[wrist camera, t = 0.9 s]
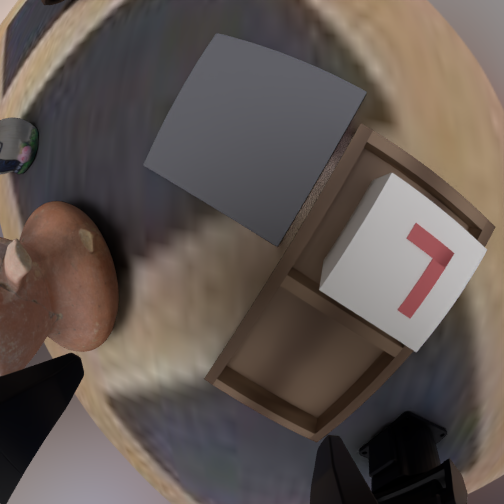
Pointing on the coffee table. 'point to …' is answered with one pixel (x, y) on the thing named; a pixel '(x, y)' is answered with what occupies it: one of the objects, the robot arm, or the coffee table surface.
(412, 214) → the letter cube
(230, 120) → the pad
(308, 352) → the tray
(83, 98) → the coffee table surface
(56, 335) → the ceramic jug
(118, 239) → the coffee table surface
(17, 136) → the decorative ornament
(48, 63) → the coffee table surface
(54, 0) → the brown irregular piece
